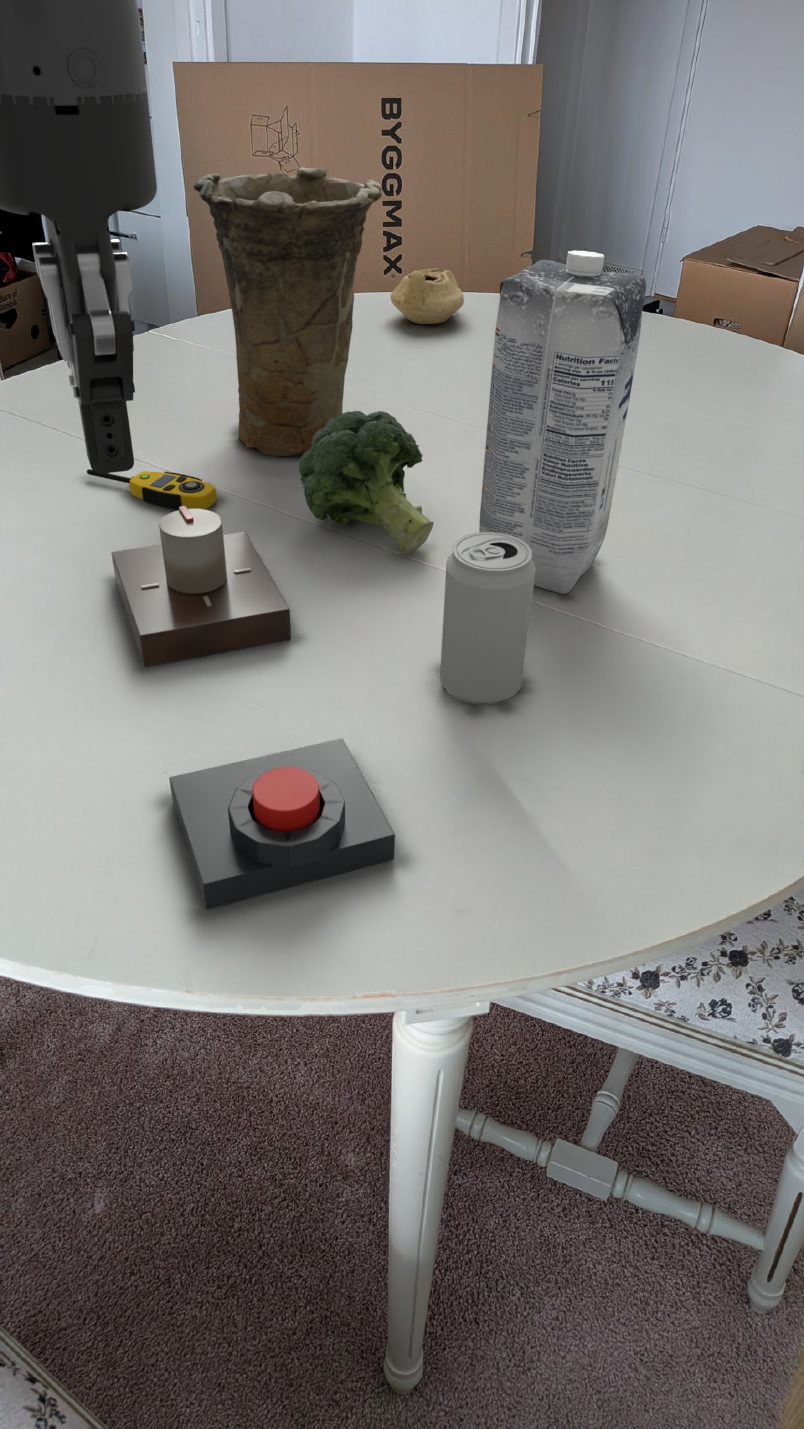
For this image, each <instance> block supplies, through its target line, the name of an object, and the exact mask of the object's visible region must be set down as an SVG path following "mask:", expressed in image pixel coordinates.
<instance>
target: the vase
mask: <svg viewBox="0 0 804 1429" xmlns="http://www.w3.org/2000/svg"><path fill="white" fill-rule="evenodd" d="M327 173H328V171H327V169H324V168H314V167H308V168H307V167H303V166H302V167H301V166H300V167H298V168H297V169H296V175H295V174H292V175H289V174H287V173H284V172H280V173H277V172H274V174H272V173H270V172H268V173H267V172H266V173H261V174H256V175H254V174H242V175H237V176H231V177H225V178H221V174H219V173H218V172H215V173H209V174H206V175H205V176H202V177H200V178H198V179H197V180H196V182H195V183H194V184H193V190H194V191H196V192H199V197H200V198H201V200H202V201H203V202H205V203H206V204H207V205H208V207H209V213H210V215H211V217H212V218H213V225H214V228H215V231H216V233H215V237H216V241H217V243H218V248H219V251H220V253H221V257H222V260H223V261H222V262H223V267H224V268H223V269H224V273H225V279H226V284H227V289H228V295H229V301H230V307H231V312H232V320H233V328H234V338H235V354H236V355H235V356H236V357H235V358H236V370H237V372H236V373H237V383H238V388H237V393H238V408H239V412H238V431H237V435H238V438H239V441H240V442H243V443H244V445H245V446H246V448H248V449H249V448H253V449H254V448H256V450H258V451H259V452H260V453H261V454H264V455H265V456H266V457H285V458H288V457H289V456H294V457H302V456H303V454H304V453H305V452H307V451H308V450H309V449H310V448H311V447H312V443H311V442H312V438H313V436H314V434H315V433H316V432H317V431H318V430H320V429H322V428H324V426H325V424H327V423H328V422H329V421H330V420H331V419H332V418H333V417H335V418H337V417H339V416H340V415H342V414H343V413H344V412H343V409H344V408H343V404H344V392H345V380H346V379H345V378H346V377H345V376H346V373H347V368H348V363H349V354H350V348H351V340H352V333H353V325H354V324H353V323H354V322H353V316H354V303H355V291H354V288H355V275H356V268H357V262H358V257H359V254H360V252H361V250H362V246H363V234H364V231H365V227H364V224H366V220H367V212H368V211H369V209H370V208H371V206H372V205H373V204H374V203H375V202H377V201H378V200H380V199H381V197H382V196H383V194H382V190H383V189H382V188H383V187H382V185H381V184H380V183H379V182H378V181H375V180H373V179H366V180H364V183H360V182H359V183H358V182H353V181H351V180H348V179H344V178H338V177H332V176H327Z"/></svg>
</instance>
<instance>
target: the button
mask: <svg viewBox="0 0 804 1429" xmlns="http://www.w3.org/2000/svg"><path fill="white" fill-rule="evenodd" d="M252 794H253V806H254V814H255V817H256V819H257V820H258V822H259V823H260V824H261V825H263V826H264V827H266V828H268V829H270V830H274V831H282V832H290V831H294V830H298V829H302V828H305V827H307V826H308V825H310V824H311V823H312V822H313V821H314V820H315V819H316V817H317V816H318V814H319V810H320V802H319V784H318V782H317V780H316V778H315V777H314V776H313V775H312V774H310V773H309V772H307V771H305V770H303V769H299V768H295V767H280V768H276V769H272V770H269V771H267V772H265V773H264V774H262V775H261V776H260V777H259V778H258V779H257V780H256V781H255V783H254V785H253V789H252Z"/></svg>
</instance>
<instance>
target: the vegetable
mask: <svg viewBox="0 0 804 1429" xmlns="http://www.w3.org/2000/svg"><path fill="white" fill-rule="evenodd" d="M311 443H312V447H311V448H310V449H309V450H308V451H307V452H305V453H304V454H303V456H300V459H299V461H298V473H299V475H300V477H299V479H300V482H301V484H302V486H303V493H304V499H305V502H306V505H307V507H308V509H309V511H310V512H311V513H312V515H313V516H314V517H315V518H316V519H319V520H321V521H324V520H328V518H329V519H330V520H331V521H332V522H335V523H337V524H338V525H340V526H341V525H342V526H345V525H346V524H347V523H348V522H349V519H353V520H359V521H361V522H365V523H368V524H374V525H380V526H382V527H383V528H385V531H386V533H387V535H388V536H390V538H391V539H392V540H394V542H395V543H396V544H397V546H398V547H399V553H401V554H404V555H407V556H409V555H410V554H412V553H414V552H415V551H417V550H419V548H421V546H422V545H423V544H425V543H426V541H427V539H428V538H429V536H430V534H431V532H432V530H433V528H434V524H435V522H434V521H431V520H430V519H429V518H427V516H425V514H423V507H422V505H418V506H414V505H413V504H412V503H411V502H410V501H409V500H408V499H407V493H406V492H405V486H404V485H405V484H404V483H405V482H404V480H405V476H406V471H405V470H404V468H405V467H407V468H409V469H410V468H411V469H412V468H414V466H415V465H417V464H420V463H422V462H423V453H422V452H421V450H420V448H419V447H420V446H419V444H417V441H416V439H415V438H414V436H413V435H412V434H411V433H409V432H407V431H406V429H405V428H404V427H403V425H402V423H400V422H398V420H397V419H396V417H395V416H393V415H391V414H390V413H389V412H386V411H383V410H378V411H374V412H371V413H368V414H365V413H364V412H363V411H362V410H353V411H349V410H348V411H345V412H343V414H342V415H340V416H339V417H337V418H335V417H333V418H332V419H331V420H330V421H329V422H328V423H327V424H325V426H324V428H322V429H320V430H318V431H317V432H316V433H315V434H314V436H313V438H312V442H311Z"/></svg>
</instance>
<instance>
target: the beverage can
mask: <svg viewBox="0 0 804 1429" xmlns="http://www.w3.org/2000/svg"><path fill="white" fill-rule="evenodd" d="M531 558H532V550H531V548H530V547H529V545H528V544H527V543H525V542H524V541H523V540H521V539H519V538H517V537H514V536H511V535H508V534H504V533H497V532H479V531H478V532H473V533H470V534H466V535H463V536H462V537H459V539H457V540H456V541H455V542H454V543H453V545H452V552H451V554H450V555H449V557H448V558H447V560H446V565H445V584H444V599H443V600H444V601H443V616H442V617H443V618H442V632H441V651H440V652H441V653H440V668H439V679H440V682H441V685H442V686H443V688H444V689H445V690H446V691H447V692H448V693H450V694H451V695H452V696H453V697H455V698H456V699H458V700H460V701H462V702H464V703H468V704H471V705H479V706H480V705H481V706H482V705H484V706H485V705H494V704H496V703H500V702H502V701H505V700H508V699H510V698H511V697H513V696H515V695H516V694H517V693H518V691H520V689H521V687H522V684H523V677H524V670H525V669H524V668H525V662H526V661H525V660H526V652H527V643H528V637H529V636H528V635H529V627H530V618H531V610H532V603H533V594H534V586H535V585H534V578H535V565H534V562H533V561H532V559H531Z"/></svg>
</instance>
